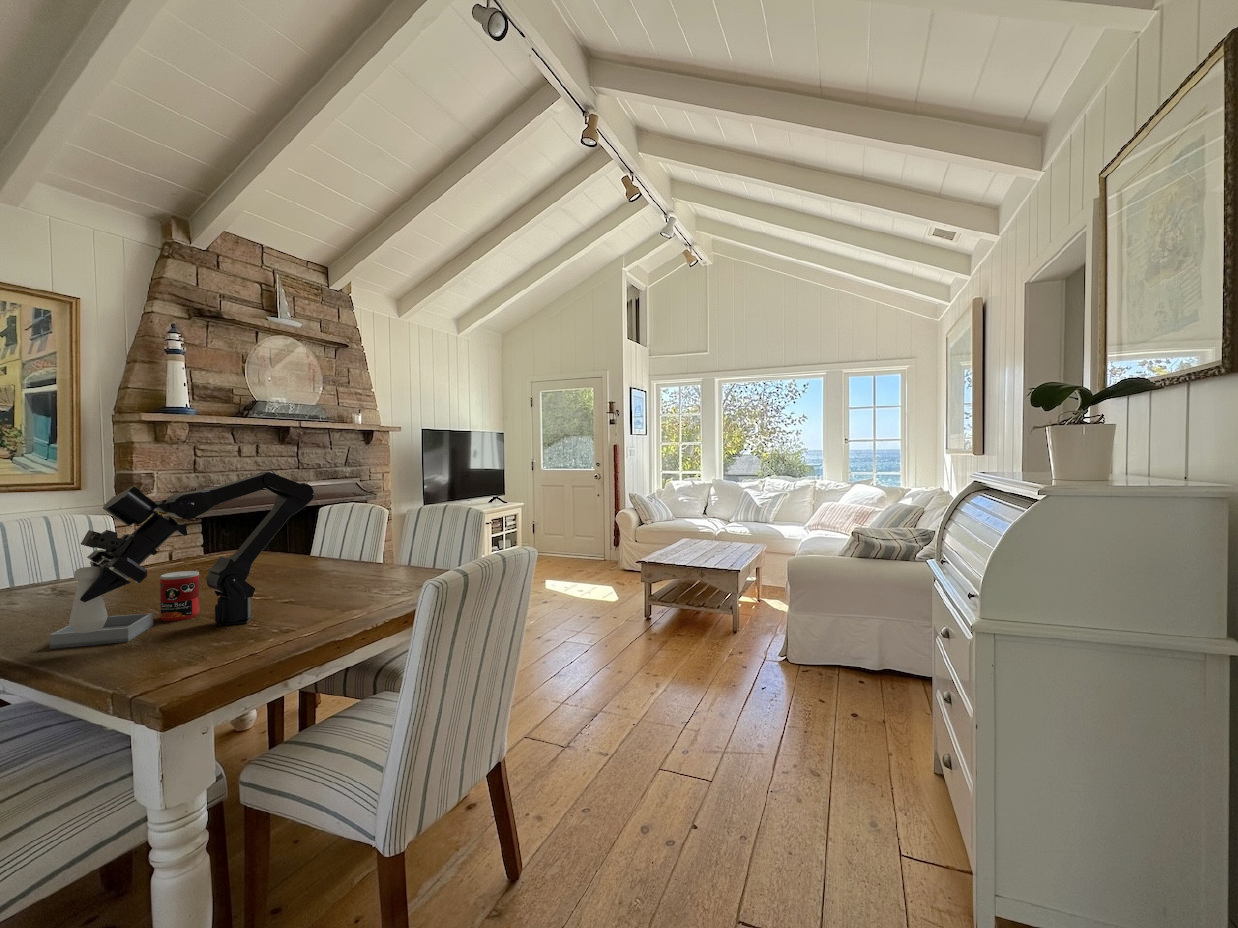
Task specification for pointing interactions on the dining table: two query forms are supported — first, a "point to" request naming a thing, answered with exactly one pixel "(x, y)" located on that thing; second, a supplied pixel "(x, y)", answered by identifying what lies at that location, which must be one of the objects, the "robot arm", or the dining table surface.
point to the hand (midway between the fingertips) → (79, 599)
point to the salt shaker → (87, 603)
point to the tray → (104, 632)
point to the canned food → (179, 595)
